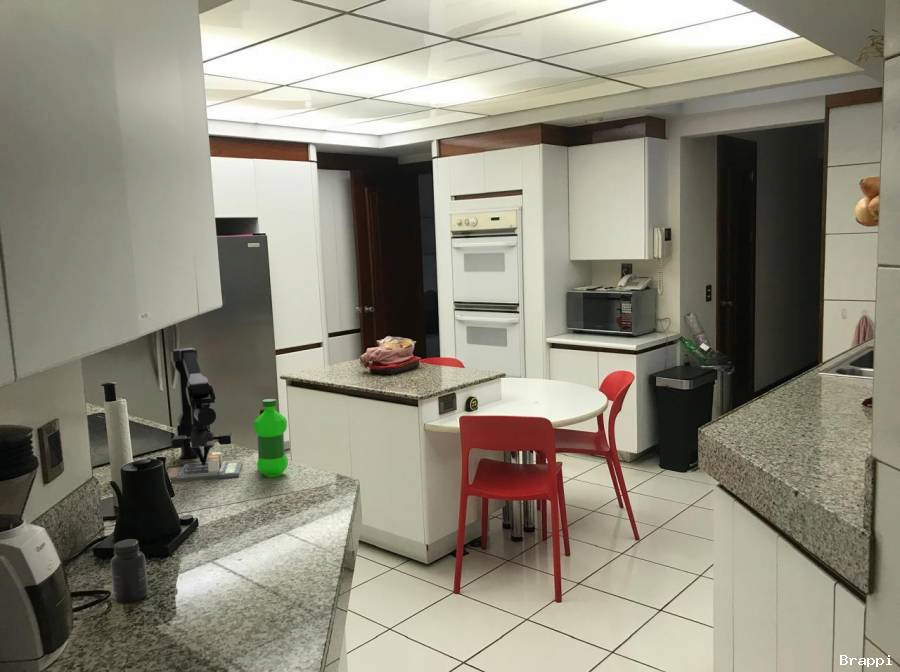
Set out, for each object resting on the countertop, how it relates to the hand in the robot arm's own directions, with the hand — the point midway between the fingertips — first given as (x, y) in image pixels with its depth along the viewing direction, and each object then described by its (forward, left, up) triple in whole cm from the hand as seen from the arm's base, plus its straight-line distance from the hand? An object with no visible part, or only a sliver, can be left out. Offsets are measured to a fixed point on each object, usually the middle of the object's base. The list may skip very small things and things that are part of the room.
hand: (204, 465), depth 240 cm
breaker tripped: (0, +3, -2) cm, 4 cm away
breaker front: (+4, +4, -2) cm, 6 cm away
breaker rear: (-4, +4, -2) cm, 6 cm away
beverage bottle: (-3, +21, -3) cm, 21 cm away
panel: (0, 0, -3) cm, 3 cm away
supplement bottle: (+87, -3, -3) cm, 87 cm away
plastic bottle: (+7, +23, -3) cm, 24 cm away
